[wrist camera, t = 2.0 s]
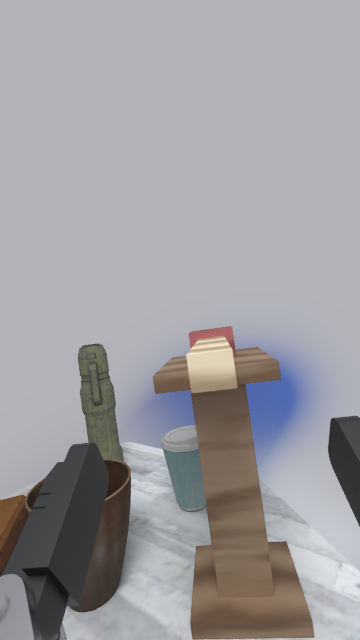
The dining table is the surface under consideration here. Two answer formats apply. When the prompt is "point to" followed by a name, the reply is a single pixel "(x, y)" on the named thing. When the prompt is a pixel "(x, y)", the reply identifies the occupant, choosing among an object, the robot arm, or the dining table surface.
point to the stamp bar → (211, 360)
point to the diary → (11, 526)
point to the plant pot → (104, 537)
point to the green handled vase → (99, 401)
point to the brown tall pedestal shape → (237, 517)
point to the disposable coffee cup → (185, 467)
